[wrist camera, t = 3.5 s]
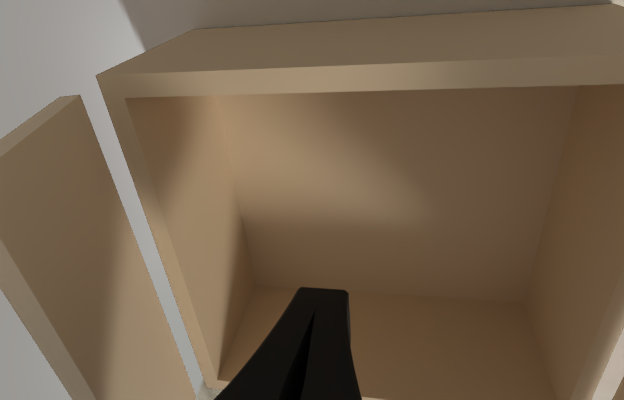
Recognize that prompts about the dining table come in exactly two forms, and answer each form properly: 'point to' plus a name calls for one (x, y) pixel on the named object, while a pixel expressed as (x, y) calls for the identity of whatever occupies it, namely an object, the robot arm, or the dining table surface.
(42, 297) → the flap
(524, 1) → the dining table surface
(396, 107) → the carton
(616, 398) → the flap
